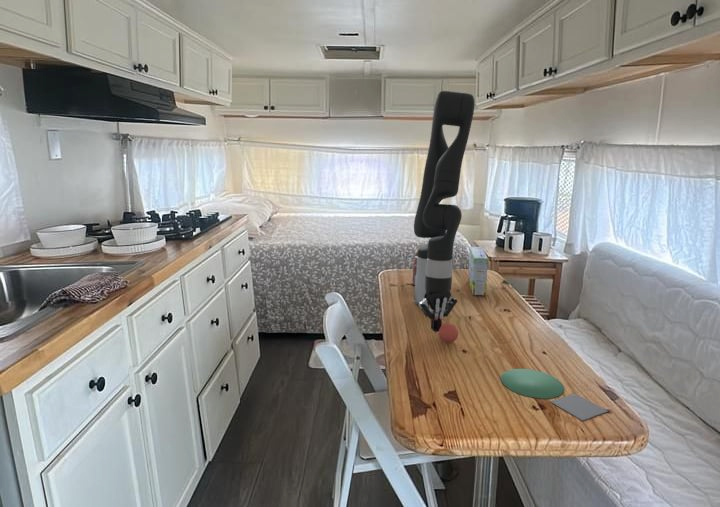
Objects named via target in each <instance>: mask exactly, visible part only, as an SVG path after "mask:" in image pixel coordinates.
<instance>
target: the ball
mask: <svg viewBox="0 0 720 507" xmlns="http://www.w3.org/2000/svg"><path fill="white" fill-rule="evenodd" d="M438 336H439V339H441V341H443V342H444V343H448V344H449V343H451V344H452V343H454V342H455V341H456V340H457V339H458V337H459V330H458V328H457V327H456V325H454V324H453V323H451V322H450V323H449V322H447V323H444V324H443V323H442V326H441V327H440V329H439V332H438Z"/></svg>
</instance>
